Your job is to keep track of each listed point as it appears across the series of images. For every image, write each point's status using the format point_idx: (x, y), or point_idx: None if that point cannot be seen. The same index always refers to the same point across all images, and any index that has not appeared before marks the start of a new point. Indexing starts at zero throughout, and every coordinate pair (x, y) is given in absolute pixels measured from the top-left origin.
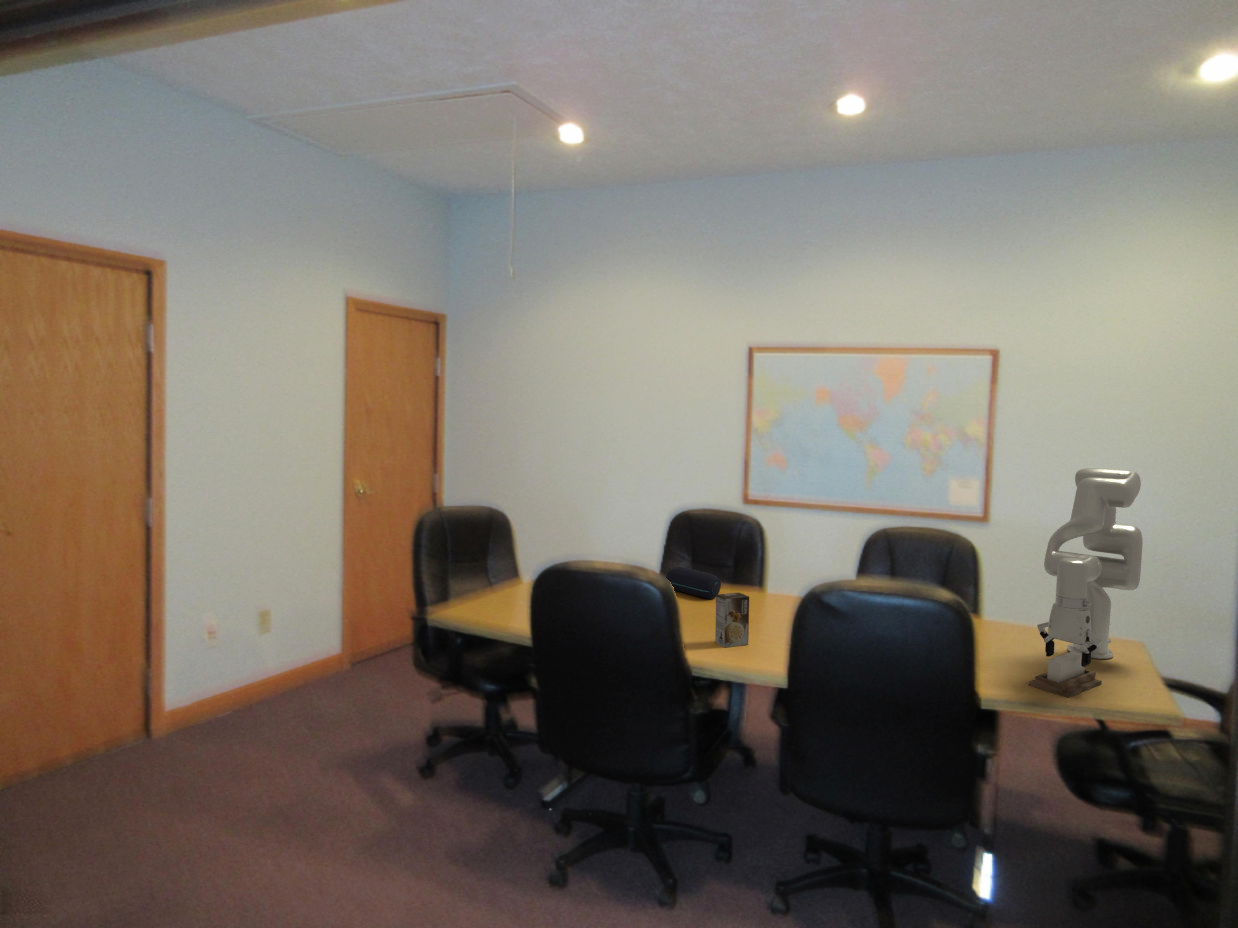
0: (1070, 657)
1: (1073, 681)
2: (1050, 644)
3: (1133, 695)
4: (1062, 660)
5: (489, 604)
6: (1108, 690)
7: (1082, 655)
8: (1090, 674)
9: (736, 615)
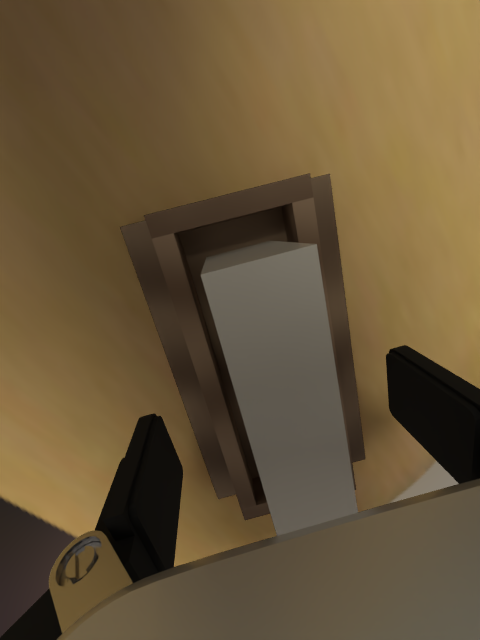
0: (314, 429)
1: (342, 410)
2: (167, 556)
3: (477, 173)
4: (333, 518)
5: None
6: (386, 231)
7: (456, 474)
8: (319, 244)
9: None
